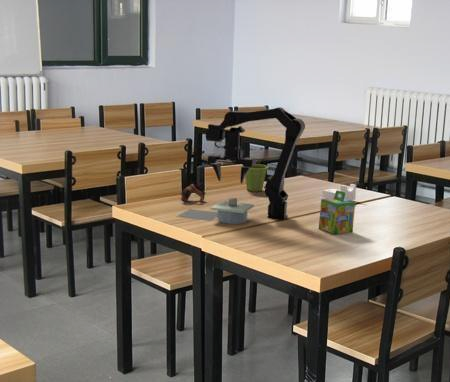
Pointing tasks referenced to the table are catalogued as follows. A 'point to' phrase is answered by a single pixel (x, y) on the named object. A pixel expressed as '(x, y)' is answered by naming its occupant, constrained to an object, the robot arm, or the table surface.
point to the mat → (198, 214)
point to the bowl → (231, 217)
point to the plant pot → (255, 177)
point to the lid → (232, 206)
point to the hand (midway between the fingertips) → (230, 182)
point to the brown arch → (195, 189)
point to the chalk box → (337, 214)
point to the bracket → (348, 193)
